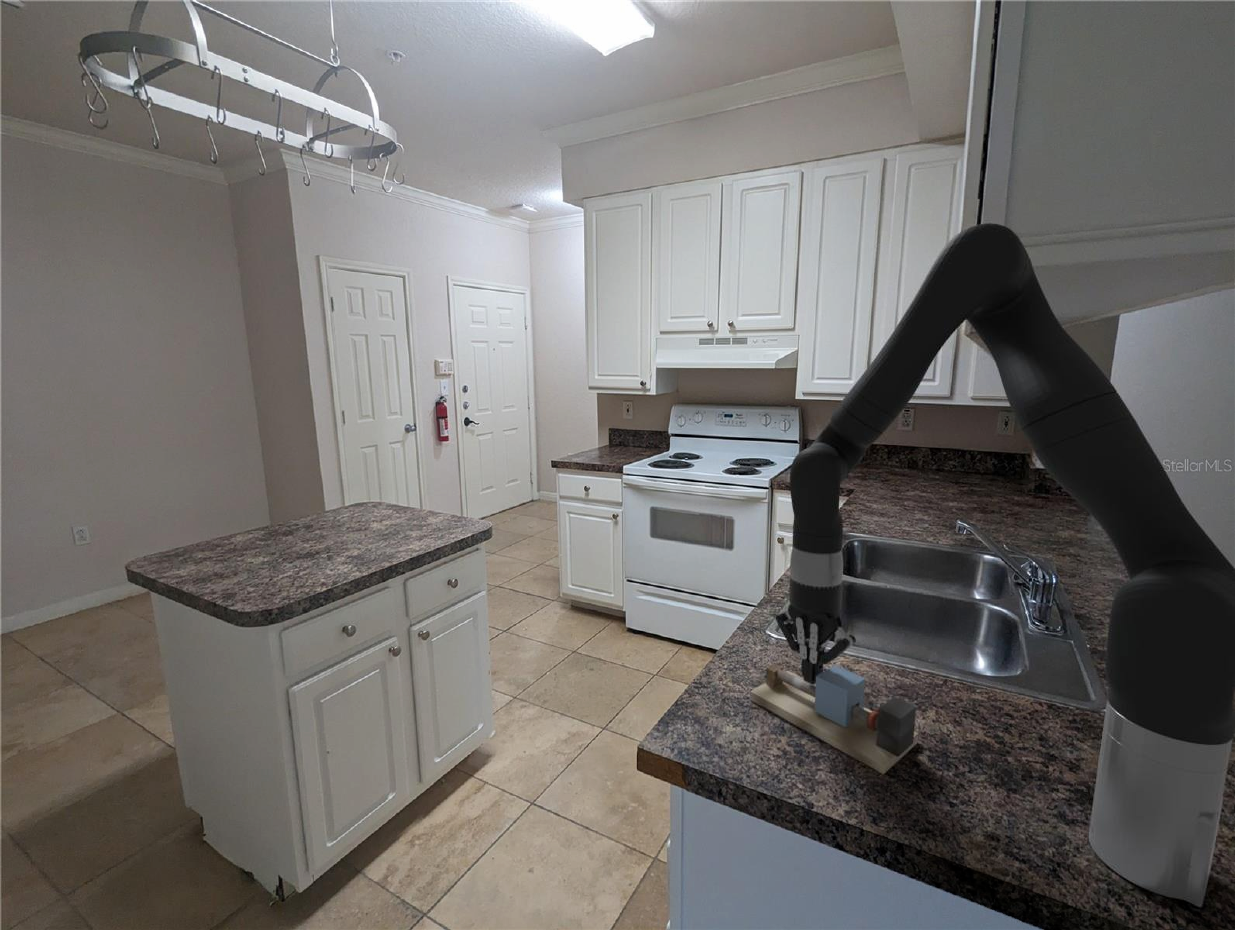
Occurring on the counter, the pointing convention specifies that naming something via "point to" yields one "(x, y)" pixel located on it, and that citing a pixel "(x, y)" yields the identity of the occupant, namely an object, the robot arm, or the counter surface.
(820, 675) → the blue sleeve
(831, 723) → the rail board
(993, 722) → the counter surface
